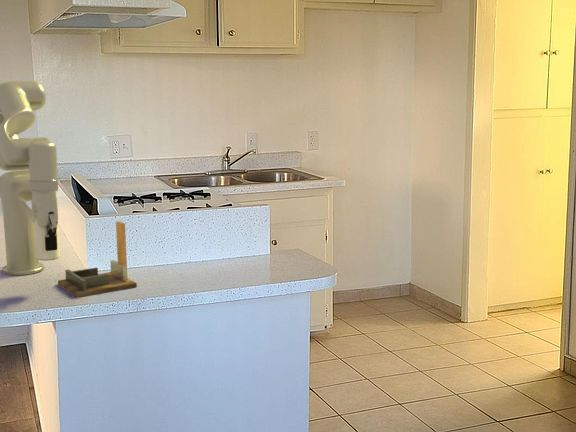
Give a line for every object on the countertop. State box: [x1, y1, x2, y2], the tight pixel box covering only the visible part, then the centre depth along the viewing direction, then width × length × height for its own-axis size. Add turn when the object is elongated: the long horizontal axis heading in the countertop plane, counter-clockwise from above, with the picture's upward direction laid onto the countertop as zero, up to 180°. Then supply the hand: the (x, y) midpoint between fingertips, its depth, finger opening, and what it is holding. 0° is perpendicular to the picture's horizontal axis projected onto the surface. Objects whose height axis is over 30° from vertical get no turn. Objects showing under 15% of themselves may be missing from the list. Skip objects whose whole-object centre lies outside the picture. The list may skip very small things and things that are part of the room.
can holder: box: [64, 267, 109, 292], centre depth 228 cm, size 15×9×3 cm, turn 34°
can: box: [34, 221, 61, 261], centre depth 222 cm, size 6×6×12 cm
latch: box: [110, 220, 128, 281], centre depth 233 cm, size 10×2×16 cm, turn 34°
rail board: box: [57, 271, 138, 298], centre depth 230 cm, size 16×18×1 cm
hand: (47, 246), depth 223 cm, fingers closed on can, 6 cm apart
